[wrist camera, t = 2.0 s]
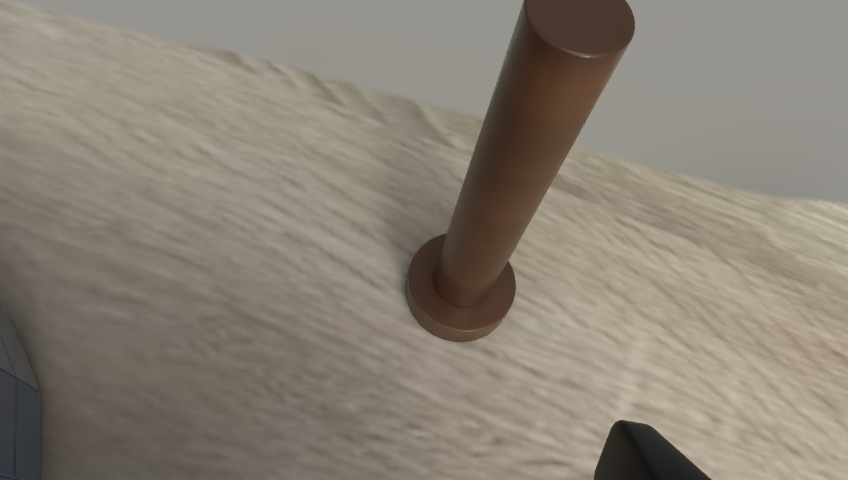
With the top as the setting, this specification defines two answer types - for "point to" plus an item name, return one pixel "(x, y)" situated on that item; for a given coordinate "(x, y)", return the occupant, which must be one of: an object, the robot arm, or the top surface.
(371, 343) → the top surface
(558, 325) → the top surface
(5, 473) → the bowl
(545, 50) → the stirring stick
